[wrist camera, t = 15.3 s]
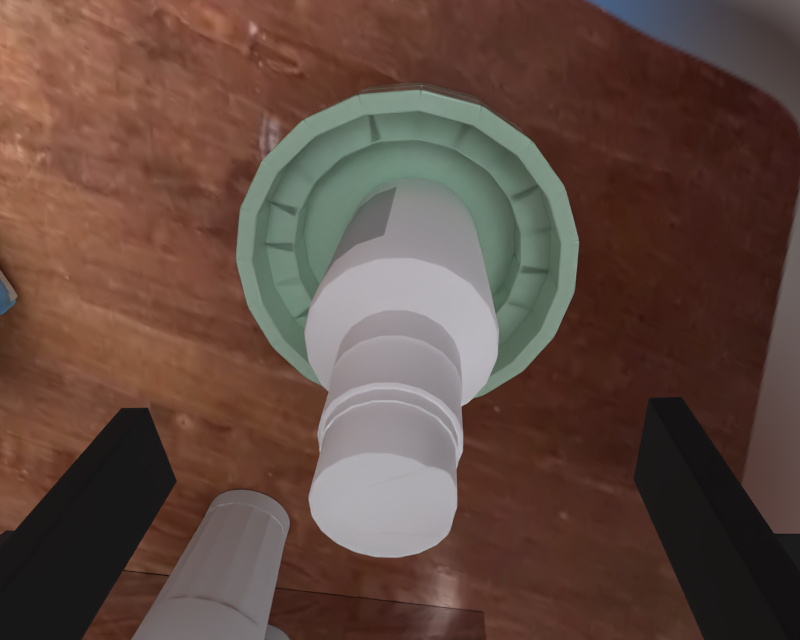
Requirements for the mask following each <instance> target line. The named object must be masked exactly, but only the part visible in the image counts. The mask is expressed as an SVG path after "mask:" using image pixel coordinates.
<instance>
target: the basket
mask: <svg viewBox="0 0 800 640" xmlns="http://www.w3.org/2000/svg"><path fill="white" fill-rule="evenodd" d="M17 296H18V295H17V294H16V292H15V291H14V289H13V287H12V286H11V284H10V283H9V282H8V280H7V279H6V277H5V276H4V274H3V273H2V271H1V270H0V315H2V314H4V313H5V312H6V311H7V310H9V309H10V308H11V307H12V306H13V305H14V304H15V303H16V298H17Z"/></svg>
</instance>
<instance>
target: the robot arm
mask: <svg viewBox="0 0 800 640" xmlns="http://www.w3.org/2000/svg"><path fill="white" fill-rule="evenodd" d="M634 481H635V483H636V485H637V488H638V490H639V492H640V495H641V497H642V499H643V501H644V504H645V506H646V508H647V510H648V513H649V515H650V517H651V520H652V522H653V524H654V526H655V529H656V531H657V533H658V535H659V538H660V540H661V542H662V544H663V547H664V549H665V551H666V554H667V556H668V558H669V560H670V563H671V565H672V567H673V569H674V572H675V574H676V576H677V579H678V581H679V583H680V585H681V588H682V590H683V592H684V594H685V597H686V599H687V601H688V603H689V606H690V608H691V610H692V613H693V615H694V617H695V619H696V622H697V624H698V626H699V628H700V631H701V633H702V635H703V638H704V640H800V534H774V533H773V532H772V530H771V529H770V527H769V526H768V524H767V523H766V521H765V520H764V518H763V517H762V515H761V514H760V512H759V511H758V509H757V508H756V506H755V505H754V503H753V502H752V500H751V499H750V498H749V496H748V495H747V493H746V492H745V490H744V489H743V487H742V486H741V484H740V483H739V481H738V480H737V478H736V477H735V475H734V474H733V472H732V471H731V469H730V468H729V466H728V465H727V464H726V462H725V461H724V459H723V458H722V456H721V455H720V453H719V452H718V450H717V449H716V447H715V446H714V444H713V443H712V441H711V440H710V438H709V437H708V435H707V434H706V433H705V431H704V430H703V428H702V427H701V425H700V424H699V422H698V421H697V419H696V418H695V416H694V415H693V413H692V412H691V410H690V409H689V407H688V406H687V404H686V403H685V401H684V400H683V399H682V397H670V398H649V401H648V407H647V412H646V417H645V422H644V428H643V433H642V438H641V443H640V449H639V454H638V459H637V465H636V470H635V475H634ZM176 482H177V481H176V478H175V476H174V473H173V471H172V468H171V465H170V463H169V460H168V458H167V455H166V453H165V450H164V448H163V445H162V443H161V440H160V438H159V435H158V433H157V430H156V427H155V425H154V422H153V420H152V417H151V415H150V412H149V410H148V408H121V409H120V411H119V412H118V413H117V414H116V415H115V416H114V417H113V419H112V420H111V421H110V422H109V423H108V424H107V425H106V427H105V428H104V429H103V430H102V431H101V432H100V433H99V435H98V436H97V437H96V438H95V439H94V440H93V441H92V443H91V444H90V445H89V446H88V447H87V448H86V450H85V451H84V452H83V453H82V454H81V455H80V456H79V458H78V459H77V460H76V461H75V462H74V463H73V464H72V466H71V467H70V468H69V469H68V470H67V471H66V472H65V474H64V475H63V476H62V477H61V478H60V479H59V481H58V482H57V483H56V484H55V485H54V486H53V487H52V489H51V490H50V491H49V492H48V493H47V494H46V495H45V497H44V498H43V499H42V500H41V501H40V502H39V503H38V505H37V506H36V507H35V508H34V509H33V510H32V511H31V513H30V514H29V515H28V516H27V517H26V518H25V520H24V521H23V522H22V523H21V524H20V525H19V526H18V528H17V529H16V530H15V531H5V532H4V533H2V534H1V535H0V640H82V638H83V636H84V635H85V633H86V631H87V630H88V628H89V626H90V625H91V623H92V621H93V620H94V618H95V616H96V615H97V613H98V611H99V610H100V608H101V606H102V605H103V603H104V601H105V600H106V598H107V596H108V595H109V593H110V591H111V590H112V588H113V586H114V585H115V583H116V581H117V580H118V578H119V576H120V575H121V573H122V571H123V570H124V568H125V566H126V565H127V563H128V561H129V560H130V558H131V556H132V555H133V553H134V551H135V550H136V548H137V546H138V545H139V543H140V541H141V540H142V538H143V536H144V535H145V533H146V532H147V530H148V528H149V527H150V525H151V523H152V522H153V520H154V518H155V517H156V515H157V513H158V512H159V510H160V508H161V507H162V505H163V503H164V502H165V500H166V498H167V497H168V495H169V493H170V492H171V490H172V488H173V487H174V485H175V483H176Z"/></svg>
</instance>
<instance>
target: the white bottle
mask: <svg viewBox="0 0 800 640" xmlns="http://www.w3.org/2000/svg"><path fill="white" fill-rule="evenodd" d="M304 336H305V342H306V349H307V355H308V361H309V363H310V365H311V367H312V369H313V371H314V372H315V374H316V376H317V378H318V380H319V382H320V383H321V385H322V386H323V387H324V388H325V389H326V390H327V391H328V392H329V393H328V396H327V399H326V403H325V406H324V409H323V413H322V416H321V420H320V424H319V428H318V432H317V435H318V441H319V451H320V456H319V460H318V463H317V467H316V470H315V474H314V478H313V481H312V485H311V489H310V493H309V496H308V499H309V504H310V510H311V515H312V517H313V519H314V520H315V522H316V523H317V525H318V526H319V528H320V530H321V531H322V532H323V533H325V534H326V535H327V536H328V537H329V538H331V539H332V540H333V541H334V542H335V543H337V544H339V545H341V546H343V547H345V548H347V549H350V550H352V551H354V552H357V553H361V554H365V555H370V556H374V557H403V556H408V555H413V554H418V553H421V552H423V551H425V550H427V549H429V548H431V547H433V546H435V545H437V544H438V543H439V542H440V541H441V540H443V539H444V538H445V537H446V536H447V535H448V533H449V531H450V529H451V525H452V522H453V518H454V515H455V511H456V509H457V476H456V468H457V466H458V461H459V459H460V457H461V454H462V452H463V424H462V410H461V407H462V406H463V405H465V404H467V403H469V401H470V400H471V399H472V398H473V397H474V396H475V395H476V394H477V393H478V392H479V391H480V390H481V389H482V387H483V386H484V385H485V384H486V383H487V381H488V378H489V376H490V374H491V371H492V369H493V367H494V365H495V362H496V360H497V357H498V341H499V326H498V322H497V318H496V313H495V309H494V304H493V300H492V295H491V291H490V287H489V282H488V278H487V273H486V269H485V264H484V260H483V256H482V251H481V247H480V242H479V238H478V233H477V229H476V226H475V223H474V220H473V217H472V214H471V211H470V210H469V209H468V207H467V206H466V204H465V203H464V202H463V200H462V199H461V198H460V196H459V195H458V194H456V193H455V192H453V191H452V190H450V189H449V188H447V187H446V186H445V185H443V184H442V183H439V182H436V181H432V180H429V179H425V178H422V177H410V178H398V179H395V180H392V181H389V182H387V183H384V184H381V185H379V186H378V187H377V188H375V189H374V190H373V191H372V192H370V193H369V194H368V195H367V196H365V197H364V198H363V199H362V201H361V203H360V204H359V206H358V207H357V209H356V211H355V212H354V214H353V215H352V218H351V220H350V222H349V224H348V226H347V228H346V230H345V232H344V234H343V237H342V239H341V241H340V243H339V245H338V247H337V249H336V251H335V253H334V255H333V258H332V260H331V262H330V264H329V266H328V268H327V270H326V272H325V274H324V277H323V279H322V281H321V283H320V285H319V287H318V289H317V291H316V293H315V295H314V298H313V300H312V302H311V304H310V307H309V311H308V316H307V321H306V326H305V331H304Z"/></svg>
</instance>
